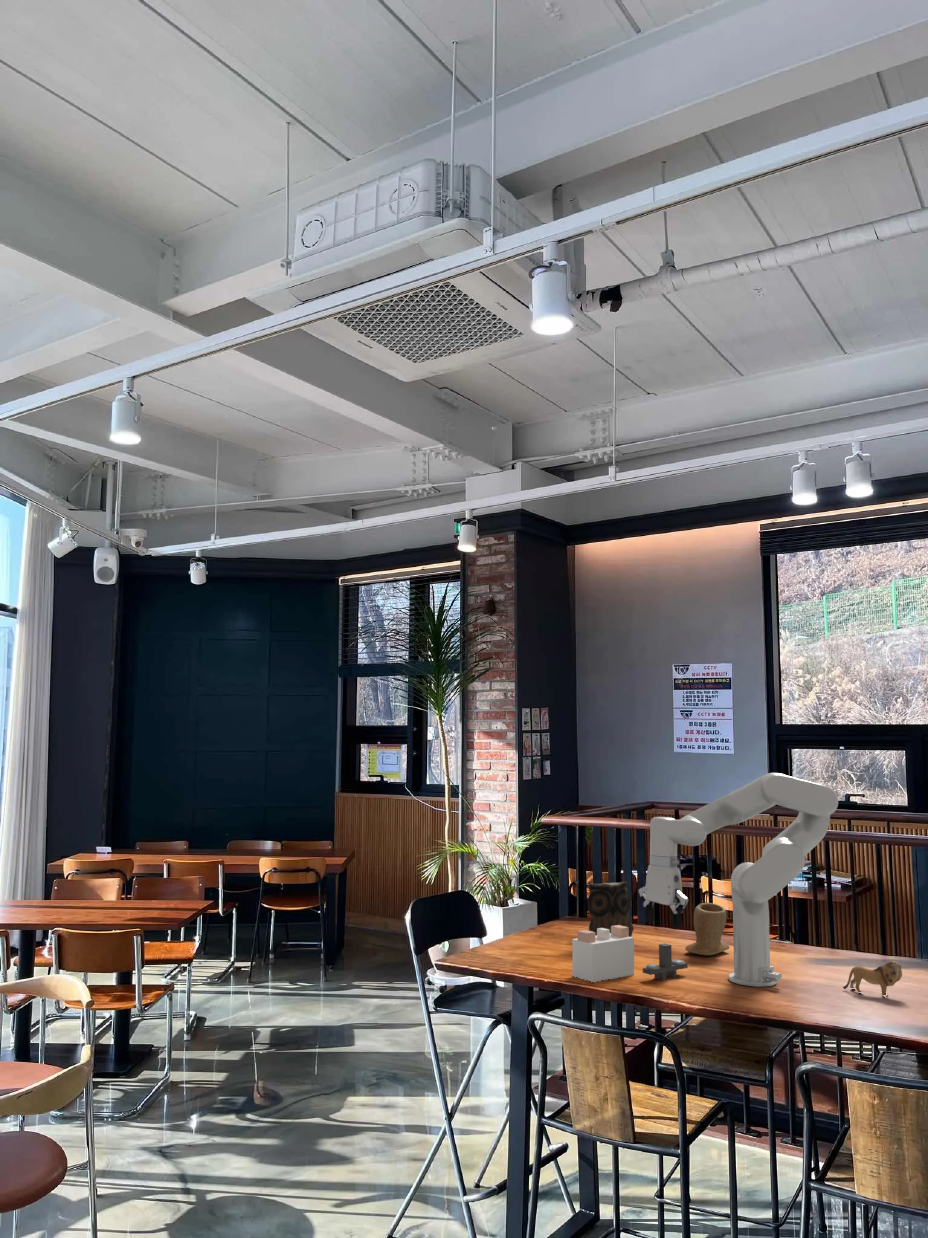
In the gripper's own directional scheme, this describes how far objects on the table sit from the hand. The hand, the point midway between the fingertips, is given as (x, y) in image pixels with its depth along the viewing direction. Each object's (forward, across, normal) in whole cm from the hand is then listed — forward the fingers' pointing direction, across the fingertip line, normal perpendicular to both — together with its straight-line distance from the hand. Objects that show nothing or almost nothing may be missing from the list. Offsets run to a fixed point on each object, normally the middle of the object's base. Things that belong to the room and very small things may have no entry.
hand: (662, 924), depth 261 cm
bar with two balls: (+14, -1, -1) cm, 14 cm away
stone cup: (+14, +12, -36) cm, 40 cm away
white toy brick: (+15, +10, +12) cm, 22 cm away
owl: (+15, +38, -18) cm, 45 cm away
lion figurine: (+13, -43, -34) cm, 56 cm away
